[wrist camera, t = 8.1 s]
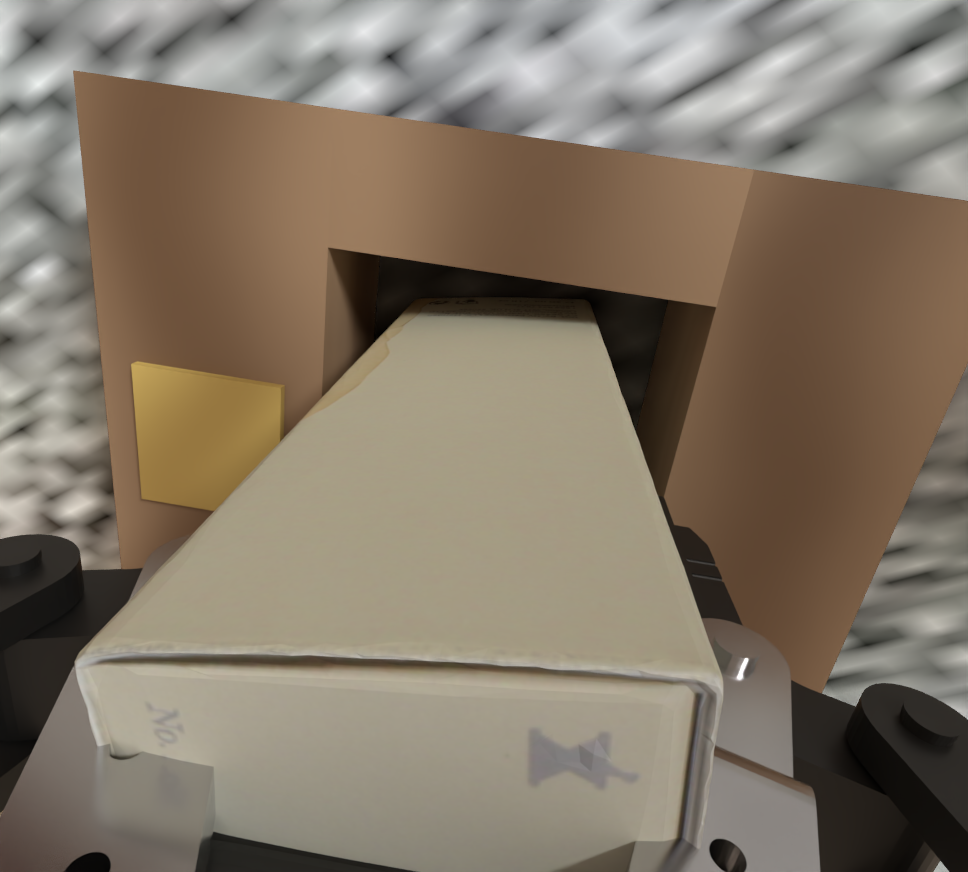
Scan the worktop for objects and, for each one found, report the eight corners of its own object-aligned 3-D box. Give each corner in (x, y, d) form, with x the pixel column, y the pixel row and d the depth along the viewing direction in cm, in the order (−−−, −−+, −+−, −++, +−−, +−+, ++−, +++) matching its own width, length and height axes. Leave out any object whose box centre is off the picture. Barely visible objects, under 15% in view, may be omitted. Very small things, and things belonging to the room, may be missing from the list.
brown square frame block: (905, 203, 14) (1044, 211, 10) (735, 666, 19) (784, 792, 15) (194, 99, 14) (64, 68, 11) (210, 574, 19) (126, 673, 15)
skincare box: (413, 294, 15) (23, 609, 4) (600, 296, 15) (752, 654, 4) (424, 524, 18) (197, 1130, 6) (586, 531, 17) (649, 1194, 6)
